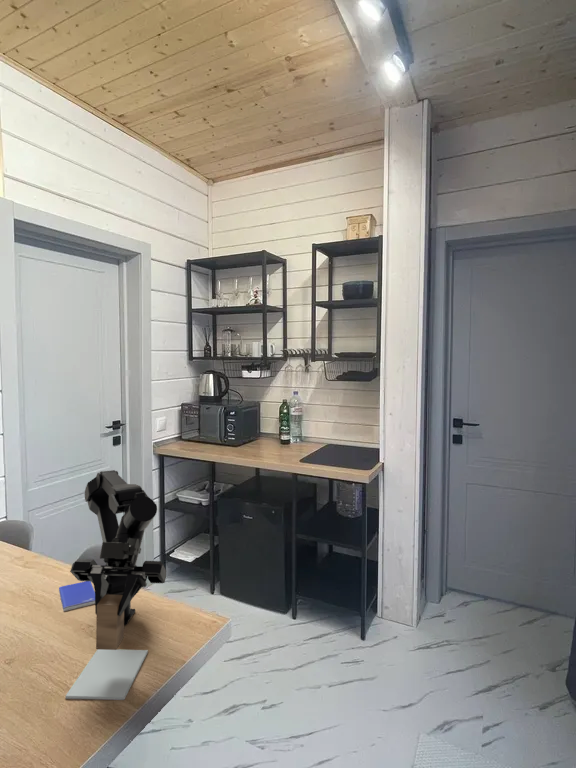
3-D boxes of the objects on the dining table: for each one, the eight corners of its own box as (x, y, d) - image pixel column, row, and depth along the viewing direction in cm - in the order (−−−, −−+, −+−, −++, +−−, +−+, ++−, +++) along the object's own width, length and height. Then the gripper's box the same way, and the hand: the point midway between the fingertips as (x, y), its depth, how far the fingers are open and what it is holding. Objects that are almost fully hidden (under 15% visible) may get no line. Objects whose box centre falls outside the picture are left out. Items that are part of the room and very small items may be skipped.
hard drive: (98, 599, 116) (90, 580, 126) (63, 607, 112) (58, 586, 122) (97, 605, 116) (90, 585, 126) (63, 613, 112) (58, 592, 122)
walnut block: (104, 637, 91) (105, 594, 91) (123, 637, 91) (124, 595, 91) (96, 649, 87) (96, 604, 87) (116, 649, 87) (116, 605, 87)
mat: (97, 651, 96) (97, 648, 96) (147, 652, 96) (147, 650, 96) (65, 698, 82) (65, 695, 82) (124, 699, 82) (124, 697, 82)
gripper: (75, 521, 92) (45, 600, 82) (163, 524, 92) (146, 603, 82) (91, 543, 100) (66, 618, 90) (172, 546, 100) (157, 620, 90)
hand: (107, 614), depth 87 cm, fingers closed on walnut block, 4 cm apart
